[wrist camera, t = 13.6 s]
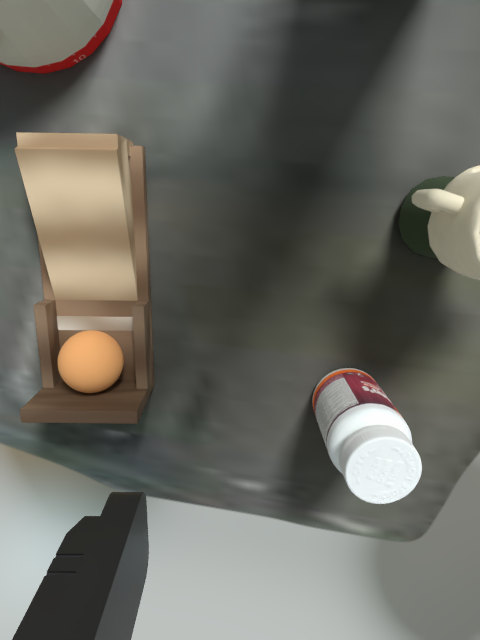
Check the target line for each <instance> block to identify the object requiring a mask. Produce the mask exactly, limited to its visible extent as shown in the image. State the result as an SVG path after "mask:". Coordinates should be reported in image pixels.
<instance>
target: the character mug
mask: <svg viewBox="0 0 480 640" xmlns="http://www.w3.org/2000/svg"><path fill="white" fill-rule="evenodd" d="M398 224H399V228H400V232H401V236H402V240H403V241H404V243H405V244H406V245H407V246H408V247H409V248H410V249H411V250H412V251H413V252H414V253H417V254H420V255H423V256H426V257H429V258H438V260H439V261H440V262H441V263H442V264H444V265H445V266H447V267H449V268H450V269H452V270H454V271H455V272H457V273H459V274H461V275H464V276H467V277H470V278H473V279H476V280H479V281H480V165H479V166H475V167H472V168H469V169H467V170H466V171H464V172H463V173H461V174H460V175H458V176H457V177H445V176H443V177H437V178H432V179H427V180H425V181H424V182H422V183H421V184H419V185H417V186H416V187H414V188H413V189H411V191H410V192H409V194H408V196H407V197H406V199H405V201H404V202H403V204H402V206H401V212H400V218H399V223H398Z"/></svg>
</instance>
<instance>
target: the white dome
mask: <svg viewBox="0 0 480 640" xmlns="http://www.w3.org/2000/svg"><path fill="white" fill-rule="evenodd" d="M121 5H122V0H0V64H1V65H4V66H6V67H9V68H11V69H14V70H16V71H21V72H32V73H43V74H45V73H49V72H54V71H58V70H62V69H66V68H70V67H72V66H73V65H75V64H77V63H78V62H80V61H81V60H83V59H85V58H86V57H88V56H89V55H91V54H92V53H93V52H94V51H95V50H96V49H97V47H98V46H99V45H100V44H101V43H102V41H103V40H104V39H105V38H106V37H107V35H108V34H109V33H110V31H111V29H112V26H113V24H114V22H115V19H116V17H117V15H118V12H119V10H120V7H121Z"/></svg>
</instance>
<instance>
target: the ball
mask: <svg viewBox="0 0 480 640" xmlns="http://www.w3.org/2000/svg"><path fill="white" fill-rule="evenodd" d="M123 364H124V358H123V352H122V350H121V347H120V346H119V344H118V343H117V341H116V340H115V339H114V338H113V337H111V336H110V335H108V334H106V333H104V332H101V331H96V330H88V331H82V332H79V333H77V334H75V335H73V336H72V337H70V338H69V339H68V340H67V341H66V342H65V343H64V344H63V346H62V348H61V350H60V352H59V355H58V370H59V373H60V375H61V377H62V379H63V380H64V382H65V383H66V384H67V385H68V386H70V387H71V388H73V389H75V390H76V391H79V392H84V393H96V392H100V391H103V390H105V389H107V388H109V387H110V386H111V385H113V384H114V383H115V382H116V380H117V379H118V378H119V376H120V374H121V372H122V369H123Z"/></svg>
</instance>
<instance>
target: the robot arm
mask: <svg viewBox="0 0 480 640" xmlns="http://www.w3.org/2000/svg"><path fill="white" fill-rule="evenodd" d="M148 549H149V545H148V526H147V506H146V495H145V493H144V492H112V493H111V494H110V495H109V497H108V500H107V502H106V505H105V507H104V509H103V511H102V514H101V516H85V517H84V518H82V519H81V520H80V521H79V522H78V523H77V524H76V525H75V526H74V527H73V528H72V529H71V530H70V531H69V532H68V533H67V534H66V536H65V538H64V540H63V542H62V543H61V545H60V547H59V549H58V551H57V553H56V558H54V559H53V561H52V563H51V565H50V567H49V569H48V571H47V575H46V576H45V577H44V579H43V581H42V583H41V585H40V586H39V588H38V590H37V592H36V594H35V596H34V598H33V600H32V602H31V604H30V606H29V608H28V610H27V612H26V614H25V616H24V618H23V620H22V621H21V623H20V625H19V627H18V629H17V631H16V633H15V635H14V637H13V639H12V640H131V637H132V633H133V628H134V624H135V621H136V616H137V612H138V608H139V604H140V600H141V595H142V592H143V588H144V583H145V579H146V574H147V567H148V554H149V550H148Z"/></svg>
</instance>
